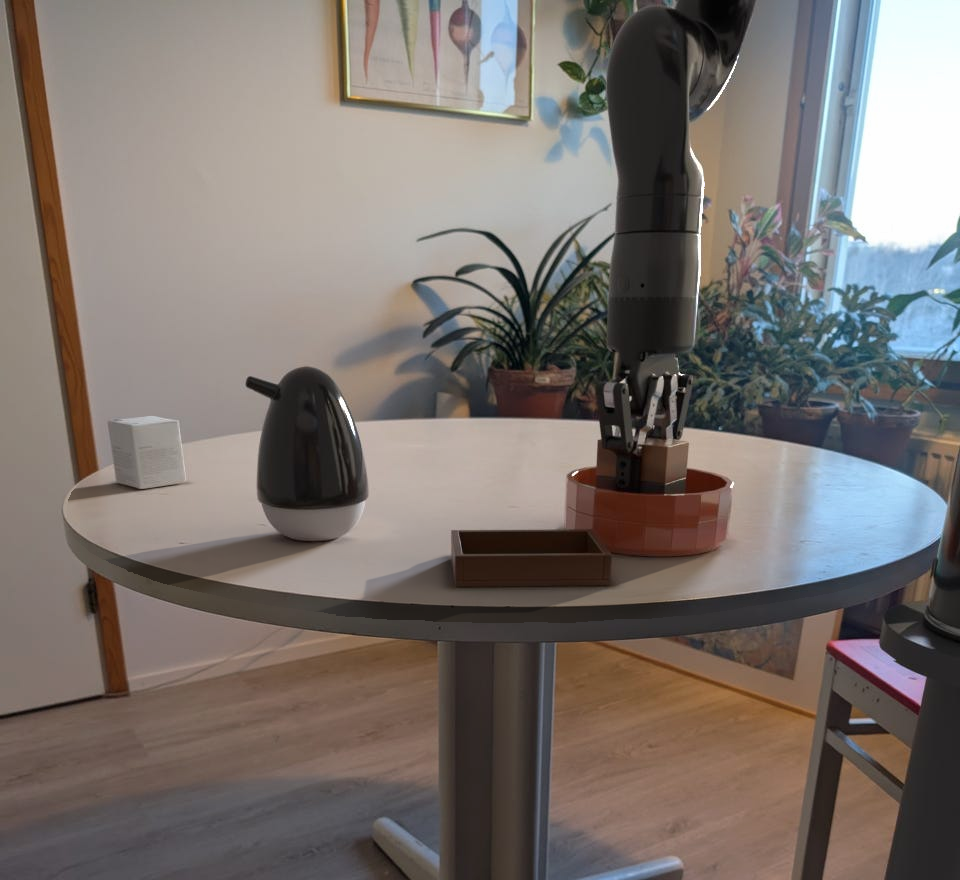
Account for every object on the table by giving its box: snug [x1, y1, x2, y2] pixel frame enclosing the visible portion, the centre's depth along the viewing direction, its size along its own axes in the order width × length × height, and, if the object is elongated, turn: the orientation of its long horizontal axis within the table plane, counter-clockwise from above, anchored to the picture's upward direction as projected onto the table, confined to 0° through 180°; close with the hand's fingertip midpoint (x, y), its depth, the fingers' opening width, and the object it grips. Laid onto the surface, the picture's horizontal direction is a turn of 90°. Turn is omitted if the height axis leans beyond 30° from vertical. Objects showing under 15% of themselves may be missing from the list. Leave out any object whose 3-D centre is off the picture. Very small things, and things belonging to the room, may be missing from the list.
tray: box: [450, 528, 613, 588], centre depth 73 cm, size 12×8×2 cm
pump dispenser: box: [244, 365, 370, 542], centre depth 81 cm, size 10×10×15 cm
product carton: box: [107, 415, 187, 490], centre depth 104 cm, size 6×6×7 cm
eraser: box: [595, 435, 690, 494], centre depth 81 cm, size 7×4×5 cm, turn 52°
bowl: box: [563, 465, 735, 558], centre depth 84 cm, size 15×15×6 cm
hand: (640, 492), depth 81 cm, fingers closed on eraser, 4 cm apart
